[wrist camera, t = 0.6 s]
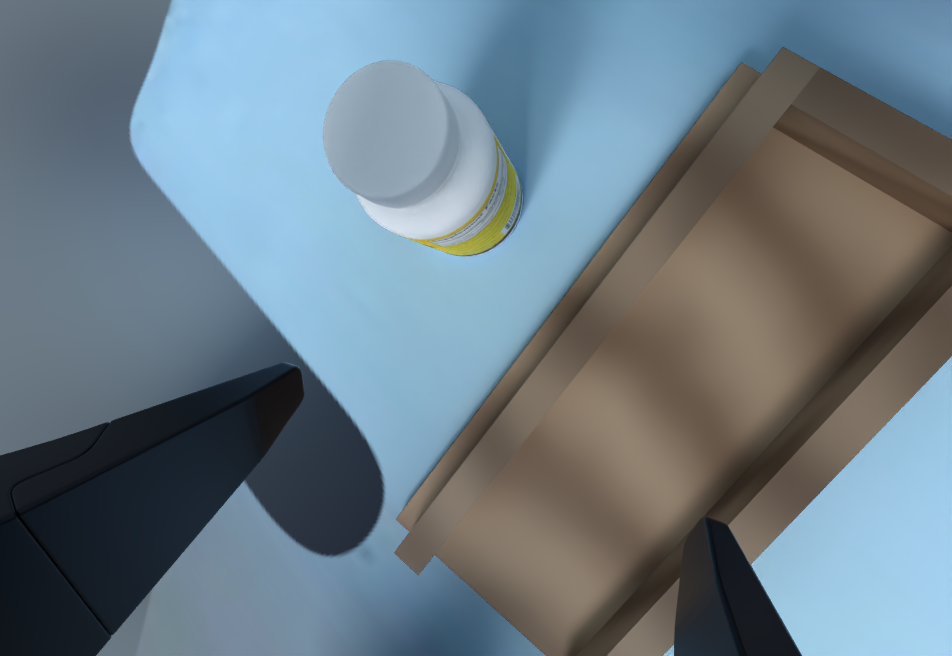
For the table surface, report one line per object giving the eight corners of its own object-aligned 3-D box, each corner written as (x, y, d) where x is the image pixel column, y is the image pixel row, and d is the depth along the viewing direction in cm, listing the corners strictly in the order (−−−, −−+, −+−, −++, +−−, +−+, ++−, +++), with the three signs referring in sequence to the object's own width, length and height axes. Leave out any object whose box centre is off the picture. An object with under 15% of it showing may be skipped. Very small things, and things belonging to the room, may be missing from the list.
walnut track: (606, 696, 22) (608, 750, 19) (402, 512, 24) (378, 538, 21) (1036, 244, 17) (1119, 232, 15) (735, 72, 20) (758, 33, 17)
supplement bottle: (402, 185, 24) (274, 99, 14) (494, 127, 22) (421, -10, 13) (447, 278, 23) (347, 254, 14) (544, 225, 22) (507, 158, 12)
